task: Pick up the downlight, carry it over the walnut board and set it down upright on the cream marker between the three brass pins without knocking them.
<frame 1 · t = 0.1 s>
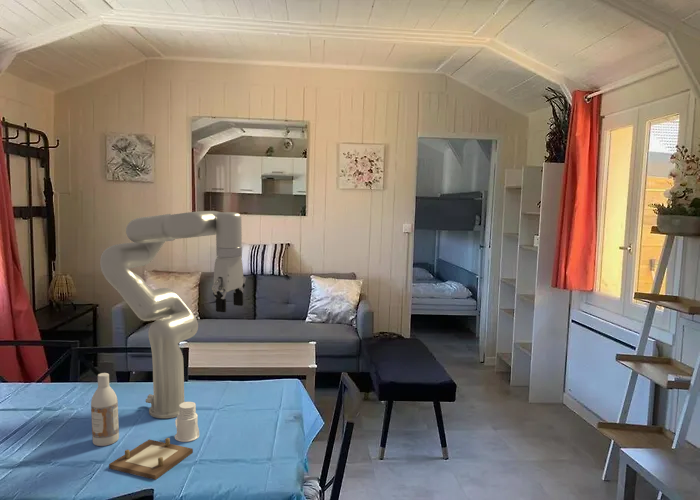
hand: (230, 308, 163), 37 cm above the table, tool pointing down, fingers open, 9 cm apart
downlight: (187, 437, 157), on the table
bath foam: (106, 441, 154), on the table
pin board: (152, 460, 143), on the table
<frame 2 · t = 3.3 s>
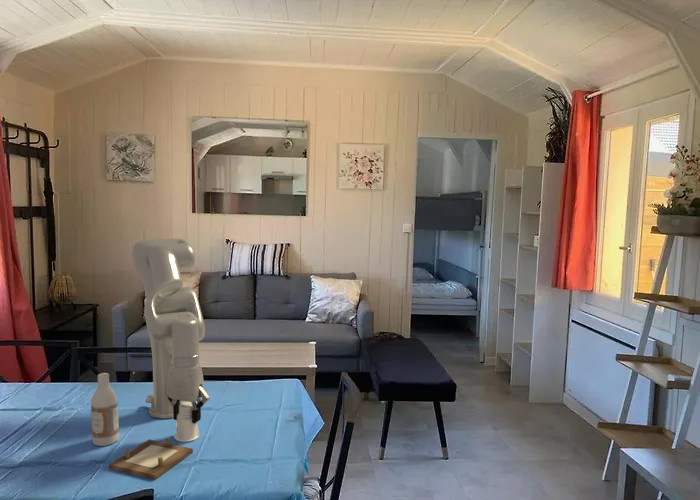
hand: (187, 419, 157), 5 cm above the table, tool pointing down, fingers closed on downlight, 5 cm apart
downlight: (187, 437, 157), on the table, touching gripper
everything else where it was.
when the fingers open (8 cm above the table, at t = 9.7 s): downlight drops 1 cm, resting on pin board.
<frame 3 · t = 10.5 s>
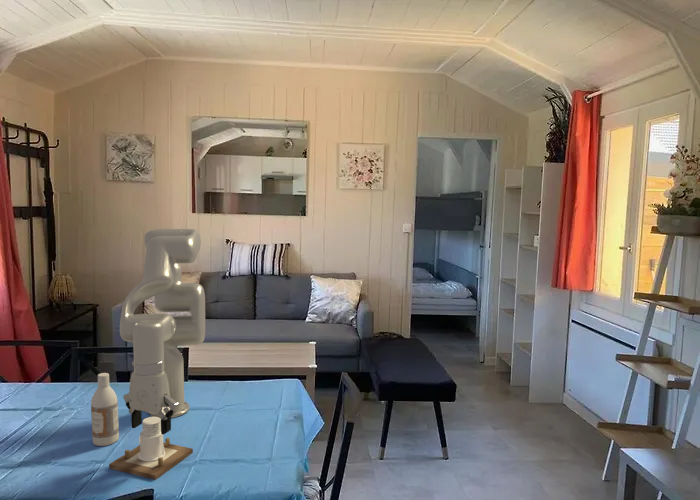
hand: (151, 429, 142), 9 cm above the table, tool pointing down, fingers open, 9 cm apart
downlight: (152, 455, 144), point 1 cm above the table, touching pin board
everything else where it was.
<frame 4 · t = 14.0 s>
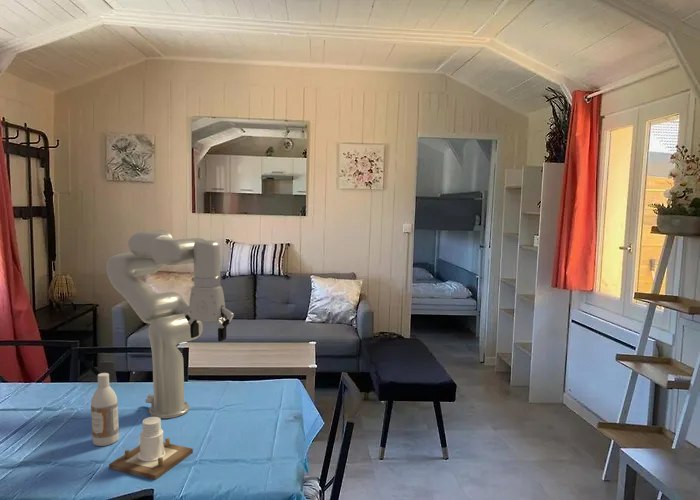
hand: (208, 338, 160), 28 cm above the table, tool pointing down, fingers open, 9 cm apart
nothing on the table moved.
at the end: downlight 0.3 cm off-centre on the pin board, point 1.1 cm above the pin board's base; downlight tilted 0°; the gripper is holding nothing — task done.
